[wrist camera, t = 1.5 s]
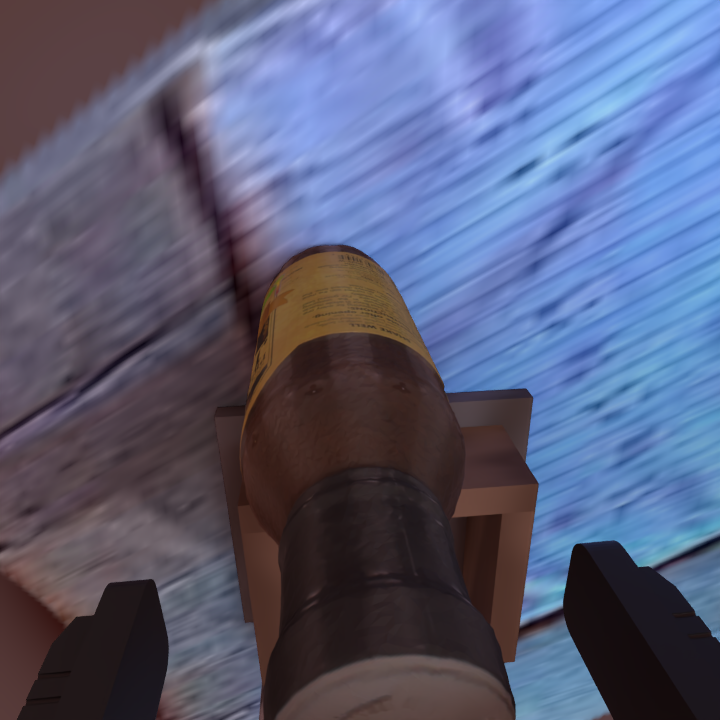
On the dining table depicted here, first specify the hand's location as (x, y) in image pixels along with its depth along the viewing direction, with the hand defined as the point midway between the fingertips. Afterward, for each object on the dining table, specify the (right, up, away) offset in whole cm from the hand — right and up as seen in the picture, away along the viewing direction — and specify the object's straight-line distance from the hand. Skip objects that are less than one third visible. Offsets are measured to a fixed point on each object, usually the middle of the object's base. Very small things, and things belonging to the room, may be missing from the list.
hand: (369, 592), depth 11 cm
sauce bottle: (-2, +7, +16) cm, 18 cm away
